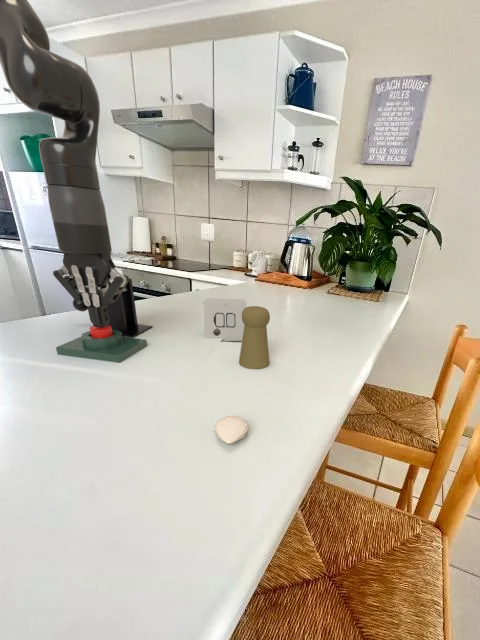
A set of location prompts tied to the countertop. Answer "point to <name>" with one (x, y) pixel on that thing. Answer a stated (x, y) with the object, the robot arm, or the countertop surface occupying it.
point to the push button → (101, 331)
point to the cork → (255, 338)
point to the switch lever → (81, 306)
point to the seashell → (231, 429)
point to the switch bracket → (125, 314)
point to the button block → (102, 347)
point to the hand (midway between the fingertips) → (100, 325)
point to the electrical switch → (224, 319)
